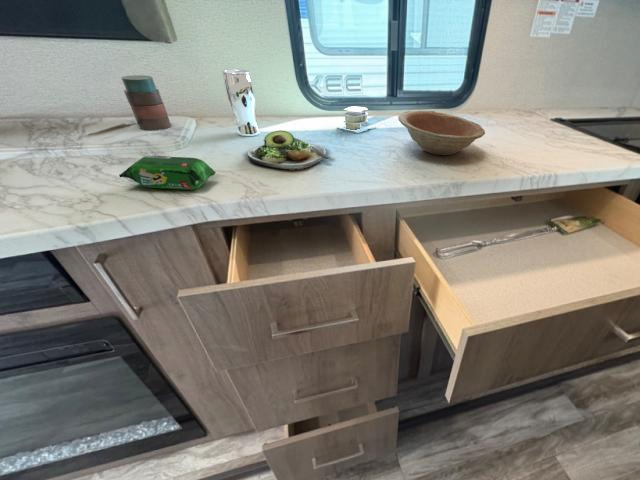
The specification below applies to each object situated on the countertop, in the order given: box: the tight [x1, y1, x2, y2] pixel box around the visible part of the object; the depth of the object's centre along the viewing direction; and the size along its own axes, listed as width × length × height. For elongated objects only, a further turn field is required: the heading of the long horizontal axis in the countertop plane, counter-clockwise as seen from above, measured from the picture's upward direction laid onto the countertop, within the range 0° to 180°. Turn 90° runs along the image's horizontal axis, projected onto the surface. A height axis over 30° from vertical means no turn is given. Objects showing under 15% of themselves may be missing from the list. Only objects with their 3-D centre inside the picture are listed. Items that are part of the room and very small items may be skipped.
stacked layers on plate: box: [335, 105, 369, 130], centre depth 105 cm, size 10×9×6 cm
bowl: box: [397, 110, 486, 156], centre depth 92 cm, size 24×24×8 cm
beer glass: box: [221, 69, 261, 137], centre depth 92 cm, size 7×7×15 cm
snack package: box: [118, 155, 216, 191], centre depth 66 cm, size 7×16×5 cm, turn 92°
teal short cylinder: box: [120, 74, 158, 93], centre depth 90 cm, size 7×7×3 cm
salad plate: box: [246, 130, 331, 171], centre depth 82 cm, size 19×18×5 cm
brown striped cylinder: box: [123, 88, 172, 131], centre depth 94 cm, size 8×8×9 cm
